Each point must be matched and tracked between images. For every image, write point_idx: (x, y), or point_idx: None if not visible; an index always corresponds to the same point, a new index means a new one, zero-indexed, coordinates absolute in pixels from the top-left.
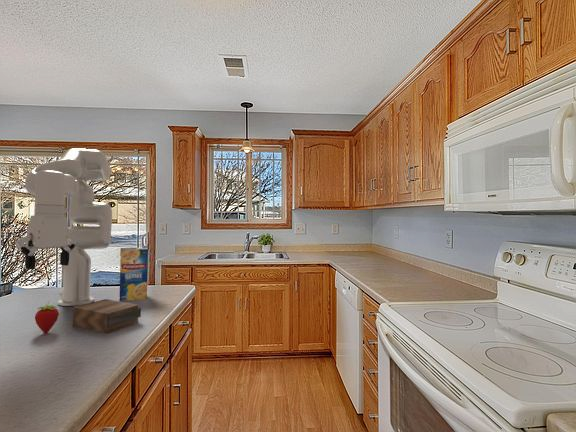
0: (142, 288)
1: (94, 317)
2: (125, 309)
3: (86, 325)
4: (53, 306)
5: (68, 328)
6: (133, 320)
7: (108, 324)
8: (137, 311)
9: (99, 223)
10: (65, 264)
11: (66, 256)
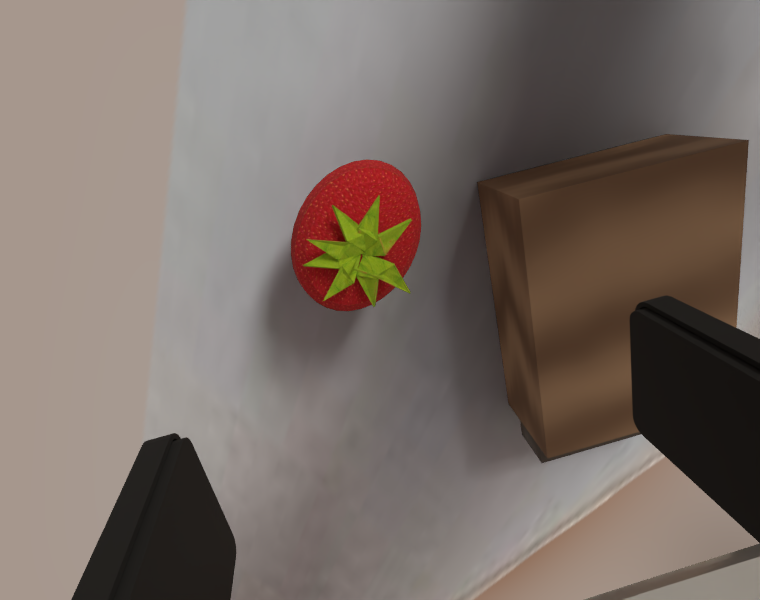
0: None
1: (524, 363)
2: None
3: (497, 290)
4: (393, 270)
5: (443, 218)
6: None
7: (525, 435)
8: None
9: None
10: (639, 425)
11: (743, 517)
